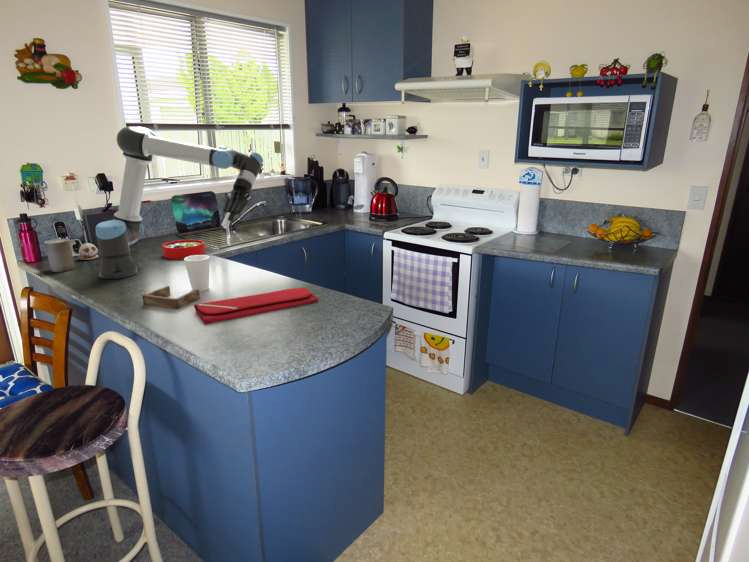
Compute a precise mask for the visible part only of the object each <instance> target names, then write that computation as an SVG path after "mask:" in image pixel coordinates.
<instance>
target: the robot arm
mask: <svg viewBox="0 0 749 562" xmlns="http://www.w3.org/2000/svg"><path fill="white" fill-rule="evenodd" d="M116 144H117V146H118V148H119V149H120V150H121V151H122V152H123V153H122V155H123V157H124V159H125V165H124V171H123V178H122V185H121V192H120V196H119V197H120V199H119V203H118V205H119V206H118V211H116V212H115V213H113V219H111V220H106V221H102V222H99V223H98V224H96V226H95V236H96V241H97V245H98V253H99V256H100V257H99V258H100V262H99V270H98V277H99V278H100V279H104V280H116V279H123V278H129V277H132V276H135V275H136V274H137V273H138V268H137V266H136V264H135V261H134V260H133V258H132V257H131V252H130V246H131V245H133V244H135V243H137V242H139V240H140V239H141V238H142V237H143V234H144V230H145V229H144V226H143V224H142V223H143V217H142V216H141V215H140V213H141V205H142V201H143V200H142V199H143V193H144V188H145V182H146V176H147V175H146V174H147V169H148V165H149V164H150V163H152V162H153V157H154V156H157V157H162V158H168V159H173V160H179V161H184V162H189V163H194V164H201V165H205V166H211V167H215V168H218V169H222V170H225V169H228V168H232V169H236V170H238V171H239V173H238V175H237V176H236V179H235V182H234V184H233V186H232V190H231V191H230V192H229V193H227V192H226V193H224V197H225V198H224V201H223V206H222V207H223V208H222V212H223V213H224V216H223V218H222V219H223V221H222V222H221V226H222V227H223V228H224V229H225V230H226V229H229V226H230V223H231V222H233V220H234V218H235V216H236V215H237V216H239V215H241V213H242V212H243V210H244V209H245V208H246V206H247V204H248V203H249V202H250V201H251V200H252V198H253V197H251V195H250V193H251V191H252V189H253V186H254V185H255V181H256V180H257V177H258V175H259V172H260V170H261V169H262V165H263V163H264V159H263V157H262V155H261V154H259V153H258V152H256V151H250V152H248V153H247V154H245V153H242V152H239V151H237V150H235V149H233V148H230V147H228V146H225V145H220V146H219V147H218V148H216V147H210V146H205V145H200V144H195V143H189V142H183V141H179V140H173V139H168V138H163V137H158V136H156V134H155V133H154V131H152V130H151V129H149V128H148V127H144V126H125V127H122V128H120V130H119V131H118V132H117V135H116Z"/></svg>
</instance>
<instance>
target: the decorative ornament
mask: <svg viewBox="0 0 749 562" xmlns="http://www.w3.org/2000/svg"><path fill="white" fill-rule="evenodd" d="M82 231H83V235H84V240H85V243H83V244H82V245H81V246H80V247H79V249H78V253H79V255H80V260H85V261H88V260H94V259H98V258H100V257H99V256H100V255H98V253H99V248H97V247H96V245H94V244H92V243H89V242H88V238H87V233H86V229H83V230H82Z"/></svg>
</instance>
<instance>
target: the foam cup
mask: <svg viewBox="0 0 749 562" xmlns="http://www.w3.org/2000/svg"><path fill="white" fill-rule="evenodd" d="M183 260H184V261H183V262H184V266H185V269H186V272H187V273H186V274H187V275H188V279H189V283H190V286H191V287H190V288H191V290H192V291H194V290H199V293H200V292H206V291H208V290H209V288H210V263H211V262H210V261H211V260H210V256H209V255H206V254H204V255H194V256H189V257H186V258H184V259H183ZM192 291H191V292H192Z"/></svg>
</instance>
